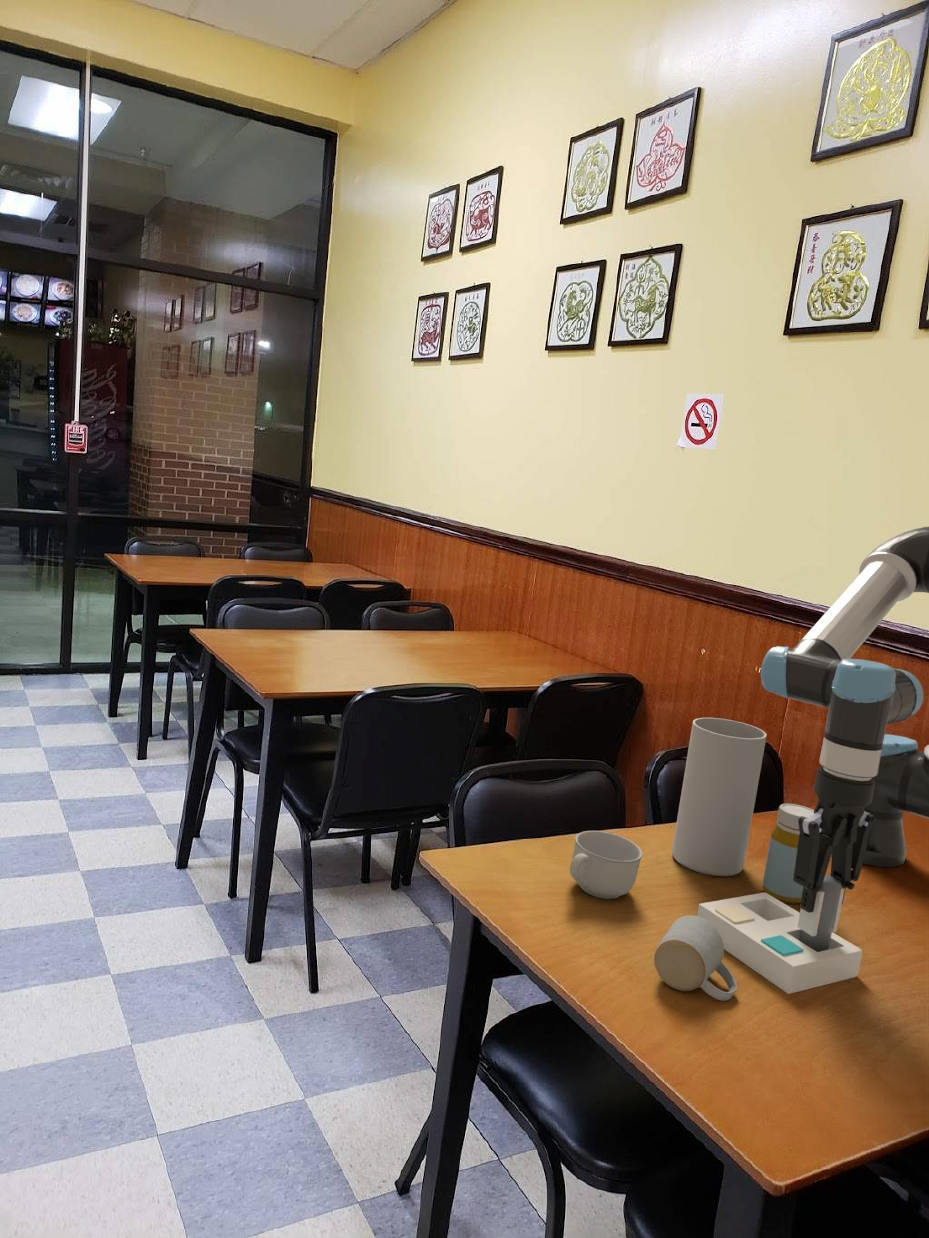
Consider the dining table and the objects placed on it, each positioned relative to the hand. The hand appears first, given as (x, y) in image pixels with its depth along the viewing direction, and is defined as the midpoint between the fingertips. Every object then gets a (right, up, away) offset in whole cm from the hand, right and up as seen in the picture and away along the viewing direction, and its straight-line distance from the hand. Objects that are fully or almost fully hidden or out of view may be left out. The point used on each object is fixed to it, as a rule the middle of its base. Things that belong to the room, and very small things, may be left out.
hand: (816, 928), depth 129 cm
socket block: (-5, -4, +4) cm, 8 cm away
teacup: (-29, 0, +16) cm, 34 cm away
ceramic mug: (-19, -5, -7) cm, 21 cm away
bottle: (+3, -3, +23) cm, 24 cm away
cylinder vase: (-7, 0, +33) cm, 34 cm away
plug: (0, -3, 0) cm, 3 cm away
